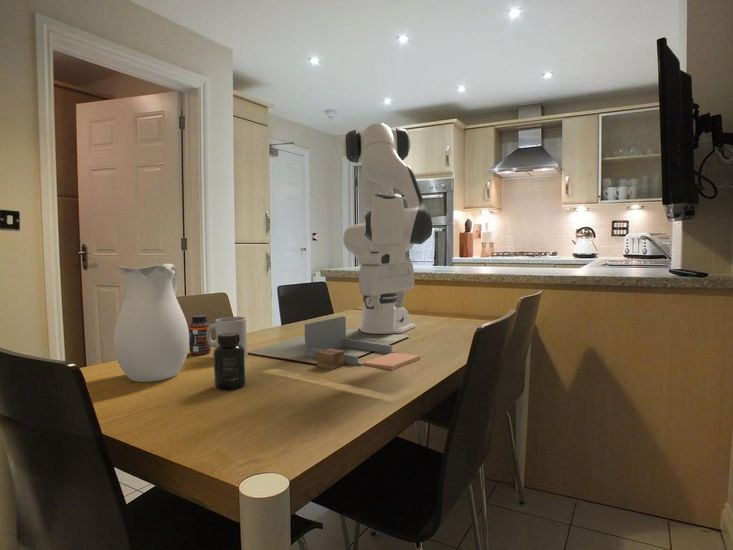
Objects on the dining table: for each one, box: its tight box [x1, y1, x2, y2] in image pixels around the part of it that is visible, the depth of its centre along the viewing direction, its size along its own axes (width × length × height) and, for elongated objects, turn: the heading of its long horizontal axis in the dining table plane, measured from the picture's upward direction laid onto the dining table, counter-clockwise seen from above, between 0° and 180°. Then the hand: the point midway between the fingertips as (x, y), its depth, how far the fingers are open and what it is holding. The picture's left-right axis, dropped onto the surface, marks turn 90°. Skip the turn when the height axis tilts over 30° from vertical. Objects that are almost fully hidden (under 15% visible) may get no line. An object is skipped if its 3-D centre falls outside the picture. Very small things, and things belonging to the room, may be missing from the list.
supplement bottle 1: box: [188, 314, 212, 356], centre depth 141 cm, size 6×6×11 cm
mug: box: [207, 316, 248, 358], centre depth 137 cm, size 12×8×11 cm
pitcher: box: [113, 263, 190, 383], centre depth 120 cm, size 24×17×28 cm
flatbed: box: [304, 315, 397, 367], centre depth 132 cm, size 20×16×10 cm
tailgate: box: [362, 352, 421, 371], centre depth 123 cm, size 1×13×9 cm
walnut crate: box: [315, 348, 345, 370], centre depth 120 cm, size 5×5×5 cm
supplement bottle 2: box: [212, 333, 247, 391], centre depth 108 cm, size 7×7×12 cm
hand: (389, 309), depth 123 cm, fingers open, 8 cm apart
